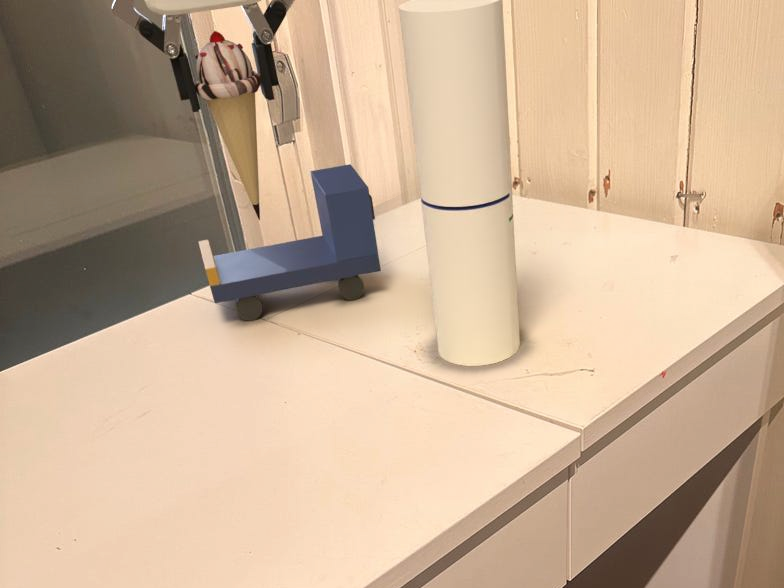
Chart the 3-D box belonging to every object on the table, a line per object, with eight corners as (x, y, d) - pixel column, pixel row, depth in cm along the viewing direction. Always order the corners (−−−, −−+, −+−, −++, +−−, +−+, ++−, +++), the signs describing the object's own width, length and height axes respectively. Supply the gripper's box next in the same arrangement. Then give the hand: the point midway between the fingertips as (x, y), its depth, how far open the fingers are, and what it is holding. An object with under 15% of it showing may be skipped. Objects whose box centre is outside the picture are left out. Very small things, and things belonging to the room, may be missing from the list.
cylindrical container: (421, 355, 79) (377, 10, 62) (469, 323, 83) (439, -9, 66) (489, 372, 76) (462, 13, 59) (535, 338, 80) (522, -8, 63)
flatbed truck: (221, 328, 87) (191, 218, 80) (214, 297, 92) (184, 192, 86) (387, 295, 89) (371, 186, 83) (369, 267, 95) (353, 163, 88)
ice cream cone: (300, 210, 86) (262, 22, 76) (271, 232, 83) (227, 37, 72) (248, 208, 88) (204, 24, 78) (217, 230, 84) (166, 39, 74)
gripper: (276, -189, 71) (322, 79, 83) (47, -165, 68) (130, 109, 80) (291, -191, 65) (337, 96, 78) (43, -165, 62) (132, 129, 75)
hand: (231, 100), depth 79 cm, fingers closed on ice cream cone, 5 cm apart
